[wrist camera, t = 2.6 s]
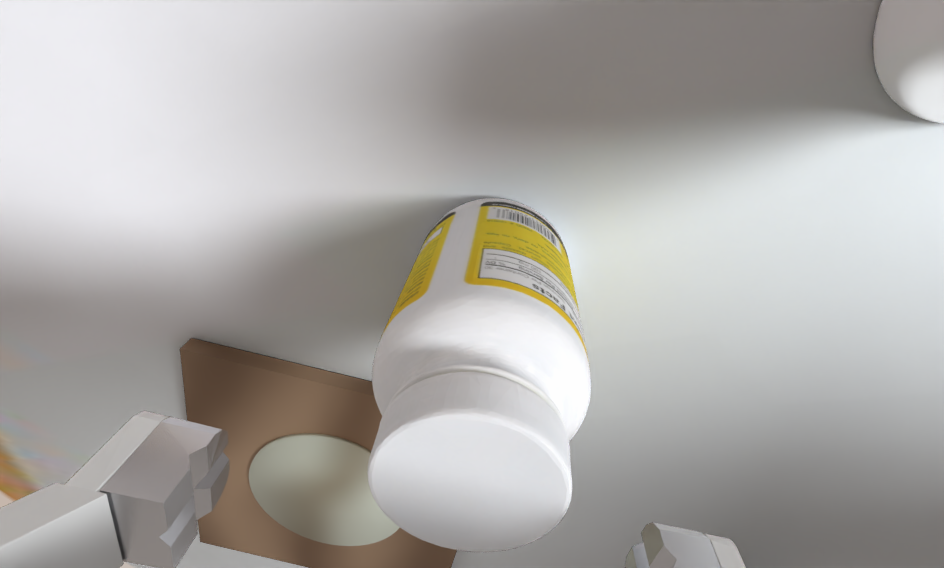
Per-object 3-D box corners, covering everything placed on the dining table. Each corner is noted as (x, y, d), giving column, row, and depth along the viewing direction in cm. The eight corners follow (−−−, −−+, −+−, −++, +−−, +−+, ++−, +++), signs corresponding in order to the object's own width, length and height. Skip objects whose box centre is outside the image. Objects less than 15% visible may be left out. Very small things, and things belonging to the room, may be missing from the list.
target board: (501, 413, 21) (499, 429, 20) (442, 584, 28) (439, 602, 27) (191, 338, 21) (176, 351, 20) (208, 528, 28) (197, 545, 27)
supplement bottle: (447, 336, 19) (384, 582, 11) (403, 214, 17) (276, 403, 8) (581, 312, 18) (629, 566, 10) (552, 177, 16) (582, 353, 7)
